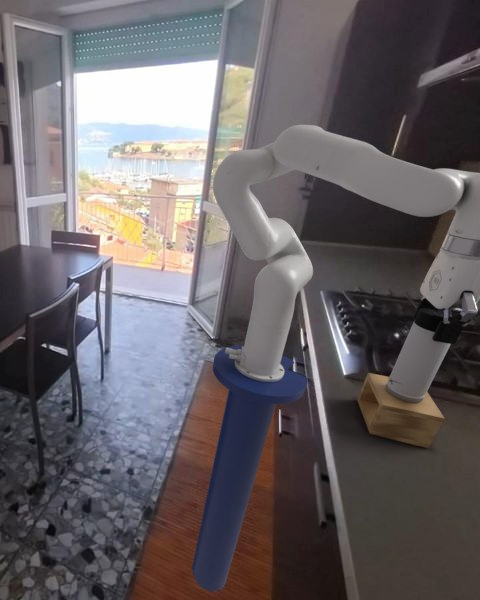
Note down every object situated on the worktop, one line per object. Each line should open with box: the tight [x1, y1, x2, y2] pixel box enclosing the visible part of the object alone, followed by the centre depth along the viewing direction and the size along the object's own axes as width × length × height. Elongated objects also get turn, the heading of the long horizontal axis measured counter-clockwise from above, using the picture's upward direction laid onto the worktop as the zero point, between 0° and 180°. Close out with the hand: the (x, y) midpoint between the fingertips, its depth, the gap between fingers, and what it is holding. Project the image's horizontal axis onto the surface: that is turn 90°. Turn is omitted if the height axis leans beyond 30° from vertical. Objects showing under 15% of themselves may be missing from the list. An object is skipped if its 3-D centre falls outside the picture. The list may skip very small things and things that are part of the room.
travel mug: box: [386, 308, 455, 403], centre depth 73 cm, size 6×7×20 cm
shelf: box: [356, 372, 445, 449], centre depth 79 cm, size 10×12×8 cm
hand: (432, 330), depth 70 cm, fingers open, 9 cm apart
